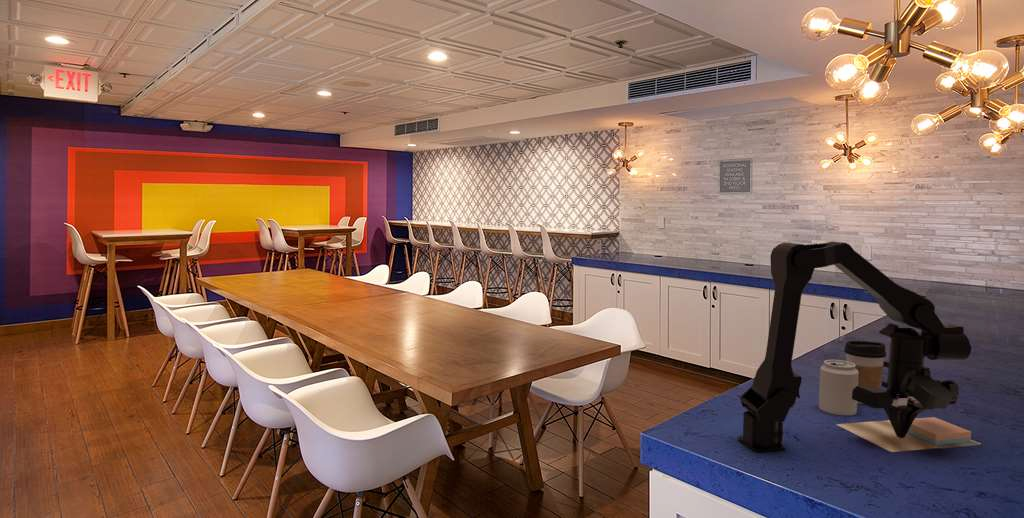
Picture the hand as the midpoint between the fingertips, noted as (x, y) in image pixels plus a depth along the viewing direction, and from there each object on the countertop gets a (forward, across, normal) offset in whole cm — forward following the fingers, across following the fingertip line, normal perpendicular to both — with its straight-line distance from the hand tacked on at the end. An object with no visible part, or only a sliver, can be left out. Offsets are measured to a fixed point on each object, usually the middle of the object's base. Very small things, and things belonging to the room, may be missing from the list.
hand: (900, 437), depth 114 cm
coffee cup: (+2, +11, +21) cm, 24 cm away
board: (+1, +3, +2) cm, 4 cm away
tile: (-1, +4, 0) cm, 4 cm away
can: (+2, 0, +17) cm, 17 cm away
